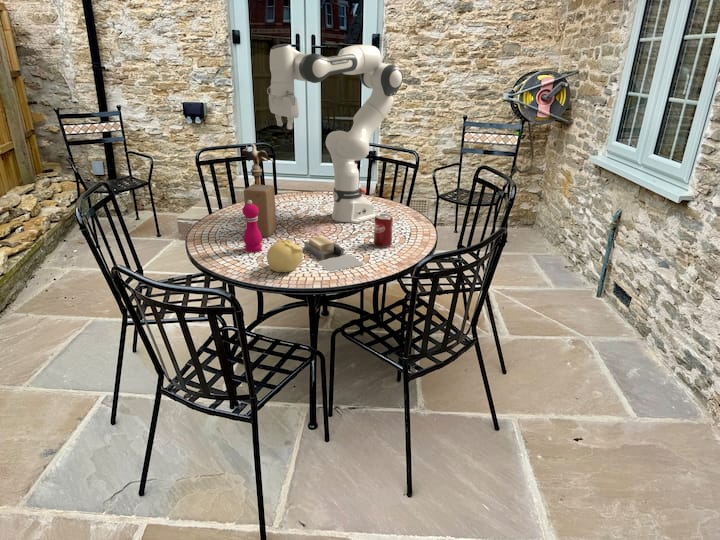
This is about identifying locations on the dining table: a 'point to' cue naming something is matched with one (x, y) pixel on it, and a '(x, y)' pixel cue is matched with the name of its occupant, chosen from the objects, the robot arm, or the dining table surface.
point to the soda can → (383, 230)
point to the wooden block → (263, 207)
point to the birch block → (322, 244)
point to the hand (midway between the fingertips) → (284, 127)
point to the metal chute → (337, 252)
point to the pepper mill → (251, 228)
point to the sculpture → (284, 256)
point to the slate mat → (340, 263)
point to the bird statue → (256, 161)
